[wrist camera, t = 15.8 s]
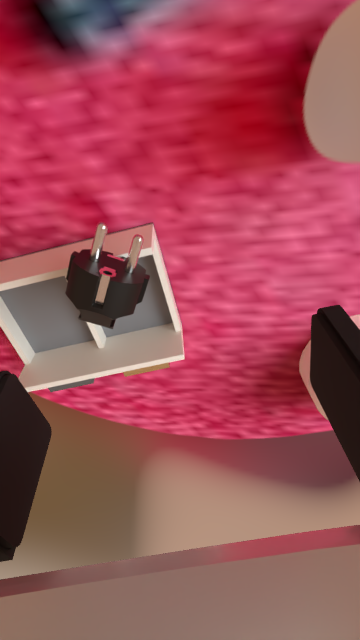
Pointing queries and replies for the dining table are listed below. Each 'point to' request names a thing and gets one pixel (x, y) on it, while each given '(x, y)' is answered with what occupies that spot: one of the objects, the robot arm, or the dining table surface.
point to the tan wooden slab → (146, 369)
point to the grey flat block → (71, 385)
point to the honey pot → (305, 369)
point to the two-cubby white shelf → (80, 336)
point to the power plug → (106, 281)
